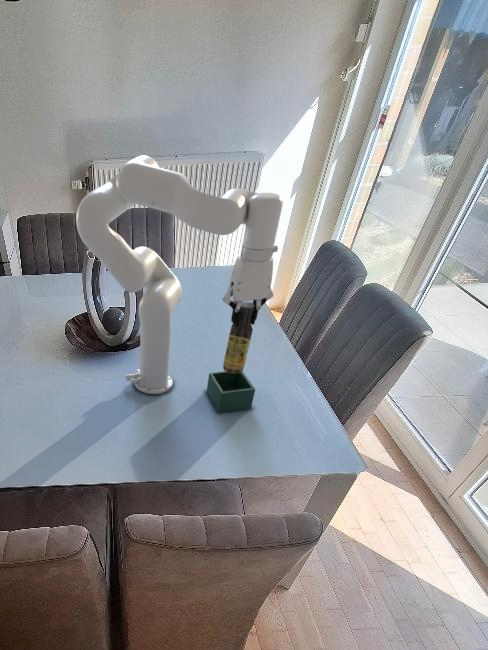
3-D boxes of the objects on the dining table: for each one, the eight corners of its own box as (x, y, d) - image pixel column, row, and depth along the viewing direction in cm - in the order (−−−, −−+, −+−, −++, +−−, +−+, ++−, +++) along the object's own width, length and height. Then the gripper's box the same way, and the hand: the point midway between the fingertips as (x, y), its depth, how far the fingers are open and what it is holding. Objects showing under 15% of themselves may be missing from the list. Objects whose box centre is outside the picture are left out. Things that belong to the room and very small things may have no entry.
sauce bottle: (219, 372, 137) (229, 306, 122) (226, 362, 140) (236, 297, 126) (241, 377, 134) (254, 311, 120) (247, 366, 138) (260, 301, 124)
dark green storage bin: (218, 412, 141) (221, 393, 136) (206, 391, 149) (209, 372, 144) (250, 408, 142) (255, 389, 137) (237, 387, 150) (241, 369, 145)
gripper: (281, 244, 117) (265, 314, 130) (219, 250, 115) (209, 320, 129) (294, 255, 112) (277, 326, 125) (229, 261, 110) (218, 332, 123)
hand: (243, 322), depth 127 cm, fingers closed on sauce bottle, 4 cm apart
